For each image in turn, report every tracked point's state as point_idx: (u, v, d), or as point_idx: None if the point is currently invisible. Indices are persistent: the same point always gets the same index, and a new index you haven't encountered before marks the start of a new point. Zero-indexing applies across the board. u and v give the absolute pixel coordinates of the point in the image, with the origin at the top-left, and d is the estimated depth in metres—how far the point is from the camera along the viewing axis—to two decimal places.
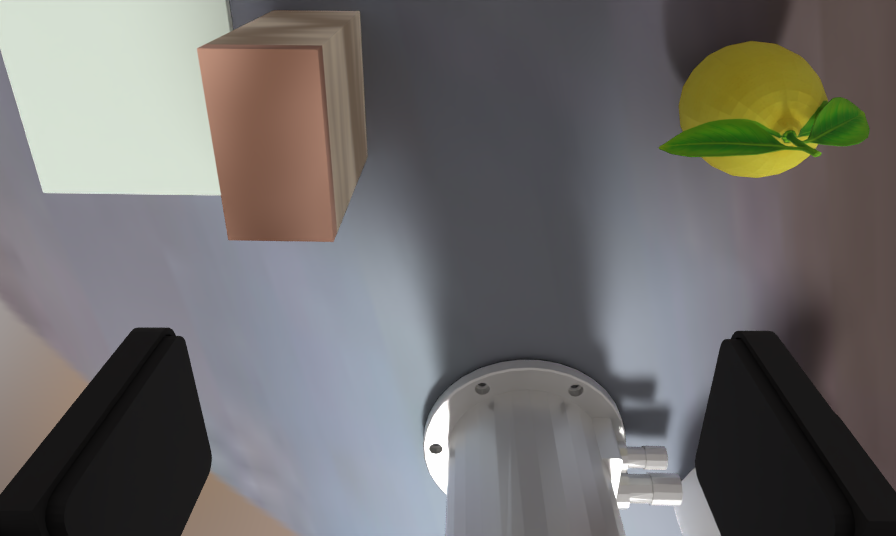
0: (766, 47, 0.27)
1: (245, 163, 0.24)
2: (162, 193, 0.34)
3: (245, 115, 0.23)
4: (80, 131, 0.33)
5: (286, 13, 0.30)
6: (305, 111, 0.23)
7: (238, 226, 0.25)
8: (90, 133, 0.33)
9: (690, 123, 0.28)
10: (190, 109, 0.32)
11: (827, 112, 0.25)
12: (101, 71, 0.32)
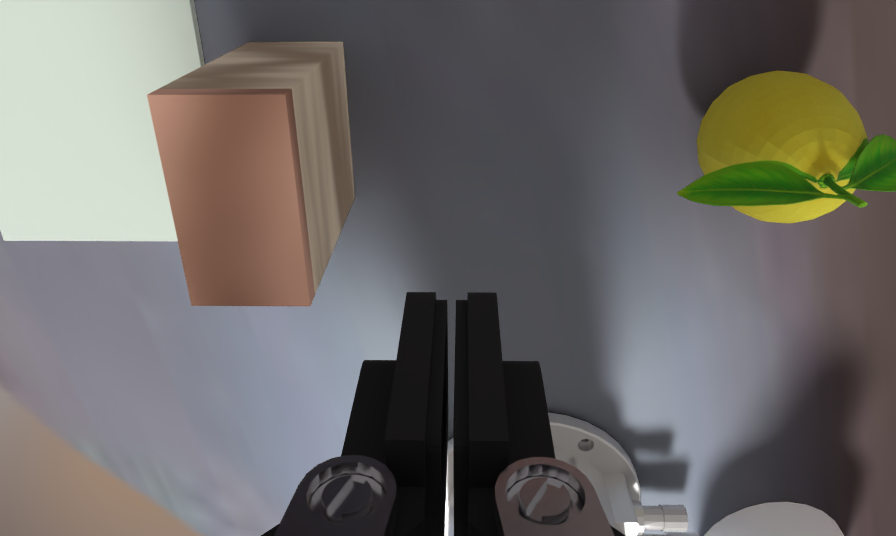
0: (796, 78, 0.24)
1: (207, 221, 0.21)
2: (132, 239, 0.32)
3: (205, 168, 0.20)
4: (41, 175, 0.30)
5: (261, 45, 0.27)
6: (273, 163, 0.20)
7: (202, 290, 0.22)
8: (52, 177, 0.30)
9: (711, 163, 0.25)
10: None
11: (869, 152, 0.22)
12: (62, 110, 0.29)
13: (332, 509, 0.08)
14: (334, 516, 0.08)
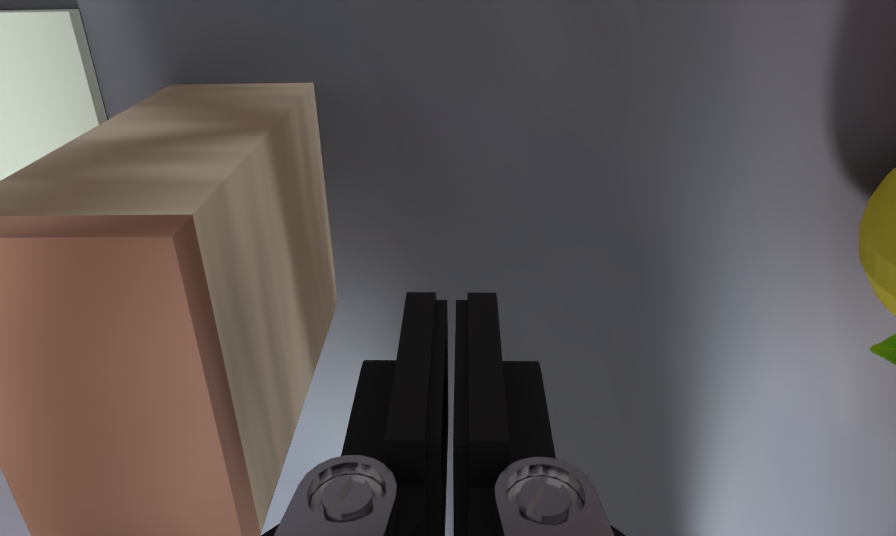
0: None
1: (52, 445, 0.11)
2: None
3: (34, 363, 0.11)
4: None
5: (186, 93, 0.17)
6: (162, 355, 0.10)
7: None
8: None
9: None
10: None
11: None
12: None
13: (332, 509, 0.08)
14: (334, 516, 0.08)
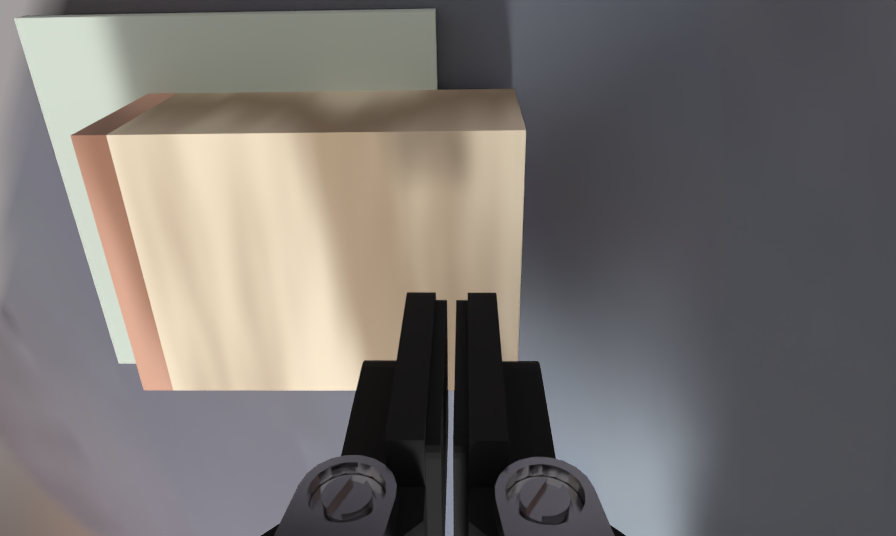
0: None
1: None
2: None
3: None
4: None
5: (474, 96, 0.17)
6: None
7: None
8: None
9: None
10: None
11: None
12: None
13: (332, 509, 0.08)
14: (334, 516, 0.08)
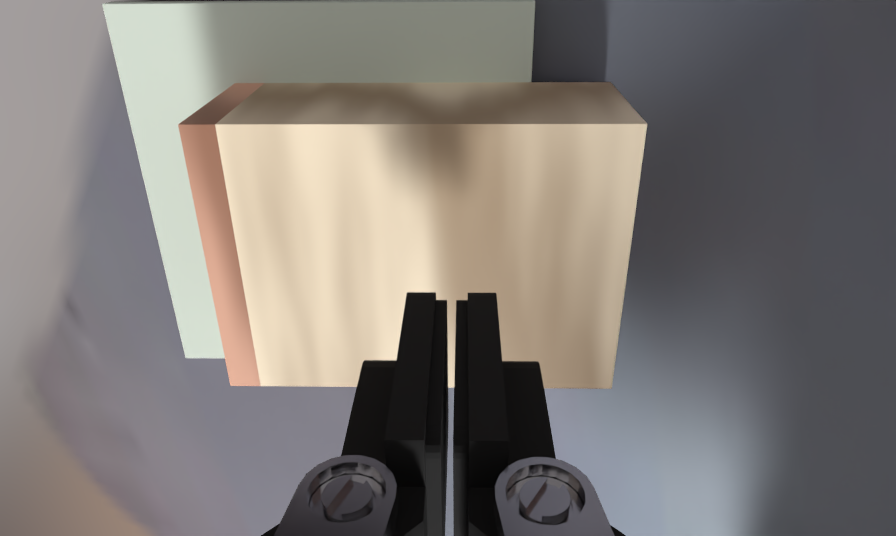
0: None
1: None
2: None
3: None
4: None
5: (573, 89, 0.17)
6: None
7: None
8: None
9: None
10: None
11: None
12: None
13: (332, 509, 0.08)
14: (334, 516, 0.08)
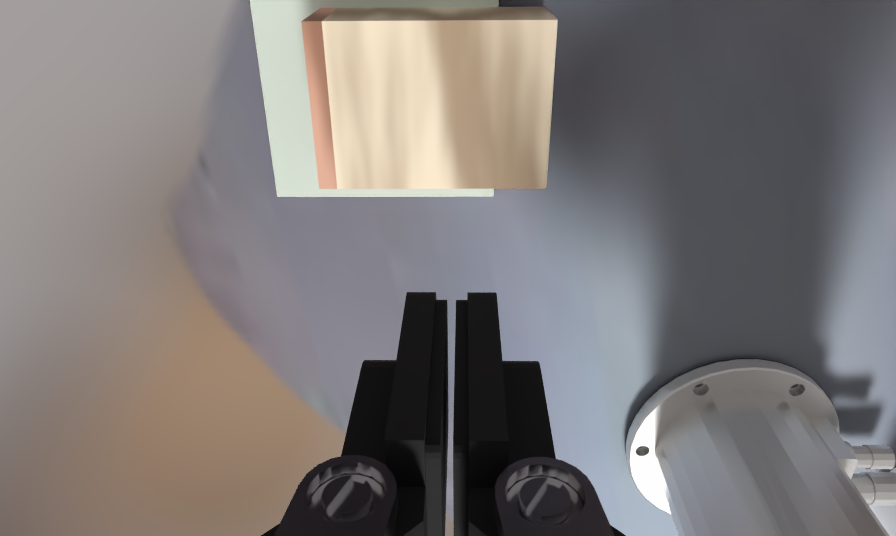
0: None
1: None
2: (400, 195, 0.34)
3: None
4: None
5: (522, 9, 0.29)
6: None
7: None
8: None
9: None
10: None
11: None
12: None
13: (332, 509, 0.08)
14: (334, 516, 0.08)
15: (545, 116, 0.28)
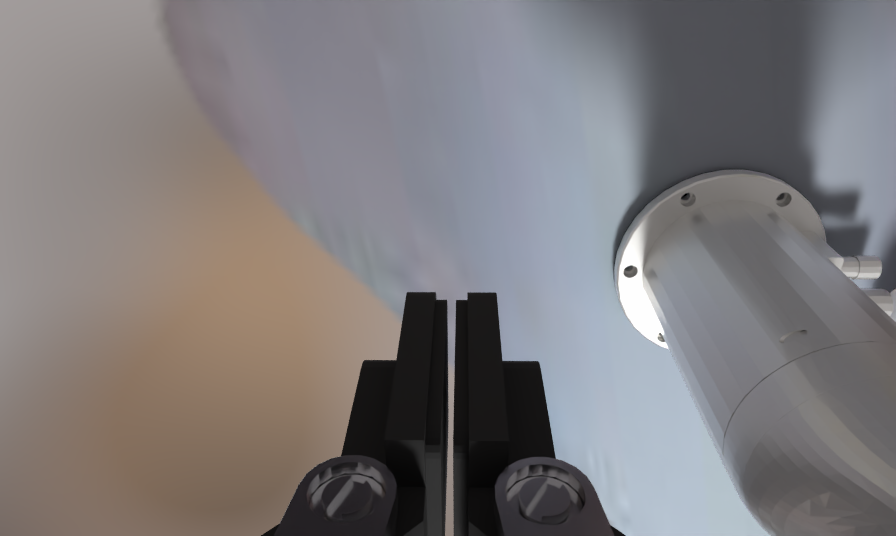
0: None
1: None
2: None
3: None
4: None
5: None
6: None
7: None
8: None
9: None
10: None
11: None
12: None
13: (332, 509, 0.08)
14: (334, 516, 0.08)
15: None
